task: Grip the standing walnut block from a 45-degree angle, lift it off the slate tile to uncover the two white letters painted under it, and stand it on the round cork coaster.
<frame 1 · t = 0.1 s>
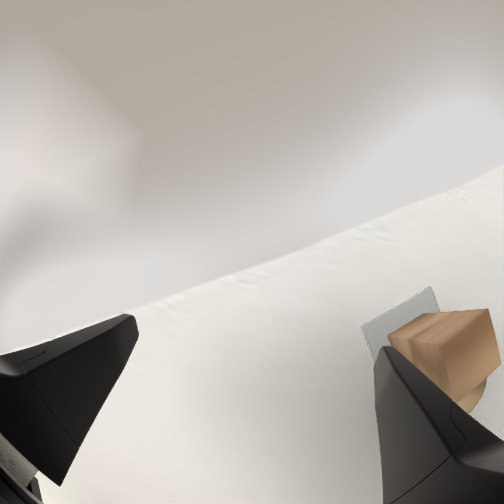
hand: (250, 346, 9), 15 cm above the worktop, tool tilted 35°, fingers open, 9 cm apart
cork coaster: (460, 387, 18), on the worktop
walnut block: (412, 343, 20), resting on code tile
code tile: (411, 343, 21), on the worktop
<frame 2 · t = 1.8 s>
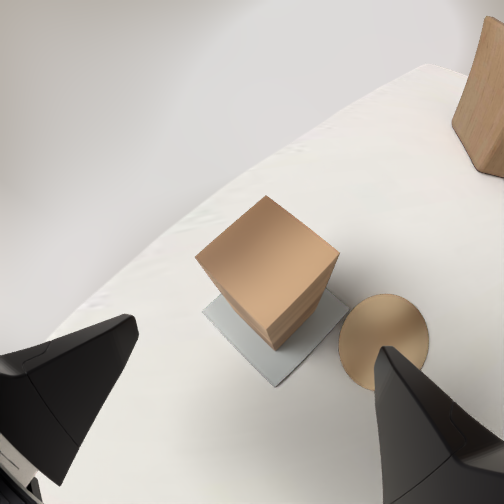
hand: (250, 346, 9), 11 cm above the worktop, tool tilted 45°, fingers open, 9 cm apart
block: (484, 153, 25), on the worktop
cork coaster: (385, 342, 18), on the worktop
walnut block: (275, 311, 20), resting on code tile
code tile: (275, 312, 20), on the worktop
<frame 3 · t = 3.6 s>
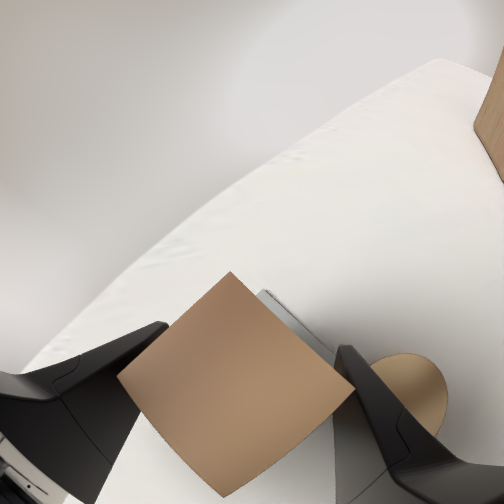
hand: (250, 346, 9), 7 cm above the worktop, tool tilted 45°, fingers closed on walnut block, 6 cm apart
cork coaster: (397, 411, 13), on the worktop
walnut block: (261, 379, 15), resting on code tile, touching gripper
code tile: (262, 379, 15), on the worktop
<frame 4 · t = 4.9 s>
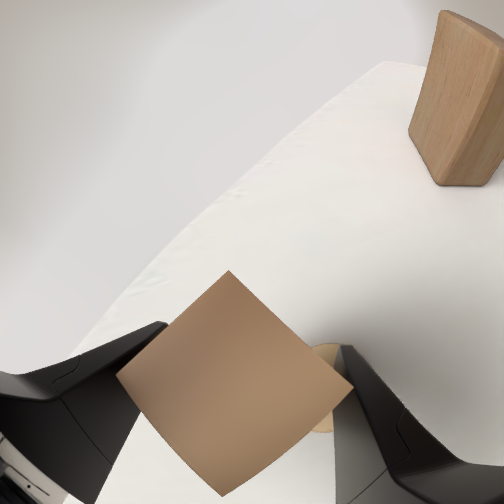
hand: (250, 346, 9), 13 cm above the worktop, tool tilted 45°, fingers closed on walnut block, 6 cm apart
block: (445, 160, 28), on the worktop
cork coaster: (327, 388, 19), on the worktop
walnut block: (261, 379, 15), point 6 cm above the worktop, touching gripper
when the fingers open (9 cm above the worktop, at t = 6.5 s): walnut block drops 1 cm, resting on cork coaster.
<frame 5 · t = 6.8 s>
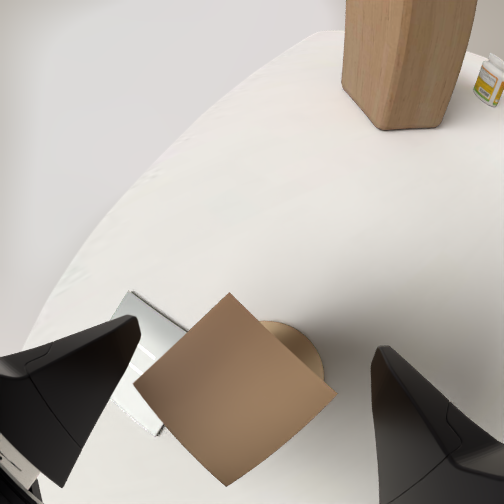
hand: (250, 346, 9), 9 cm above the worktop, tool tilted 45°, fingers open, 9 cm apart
block: (389, 107, 26), on the worktop
cork coaster: (263, 378, 16), on the worktop
walnut block: (262, 379, 16), resting on cork coaster
code tile: (139, 362, 17), on the worktop
supplement bottle: (484, 99, 28), on the worktop
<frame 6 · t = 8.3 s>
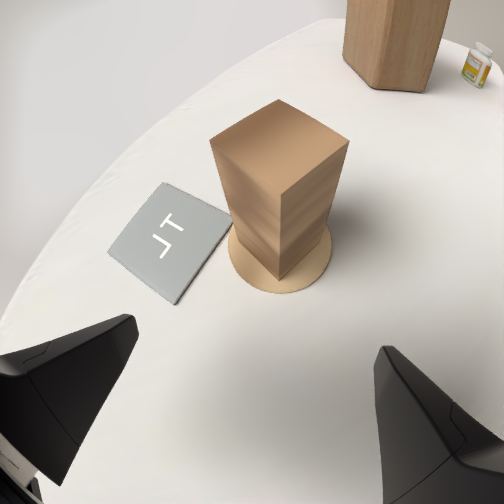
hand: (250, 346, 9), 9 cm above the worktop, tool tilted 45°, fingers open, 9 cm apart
block: (382, 75, 30), on the worktop
cork coaster: (280, 243, 20), on the worktop
walnut block: (279, 241, 20), resting on cork coaster
code tile: (166, 237, 21), on the worktop
supplement bottle: (471, 81, 31), on the worktop
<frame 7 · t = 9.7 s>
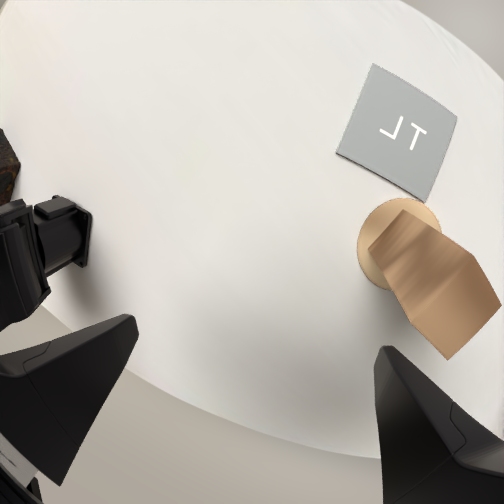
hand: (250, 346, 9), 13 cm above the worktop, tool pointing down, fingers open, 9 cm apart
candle: (3, 171, 25), on the worktop
cork coaster: (401, 245, 19), on the worktop
walnut block: (402, 246, 19), resting on cork coaster
code tile: (402, 131, 16), on the worktop
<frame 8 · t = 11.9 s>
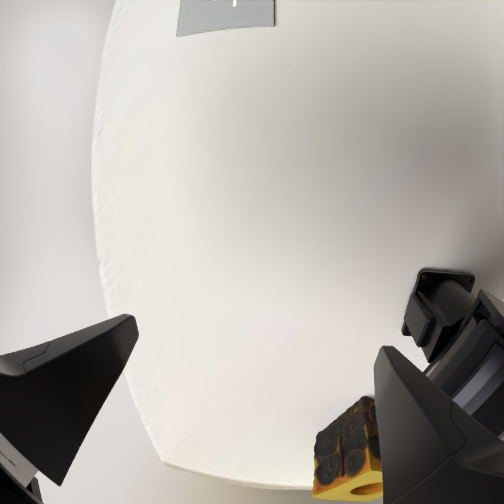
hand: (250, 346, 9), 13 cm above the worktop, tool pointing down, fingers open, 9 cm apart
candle: (366, 424, 27), on the worktop
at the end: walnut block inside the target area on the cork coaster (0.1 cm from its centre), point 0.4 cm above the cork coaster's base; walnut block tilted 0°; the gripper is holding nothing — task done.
